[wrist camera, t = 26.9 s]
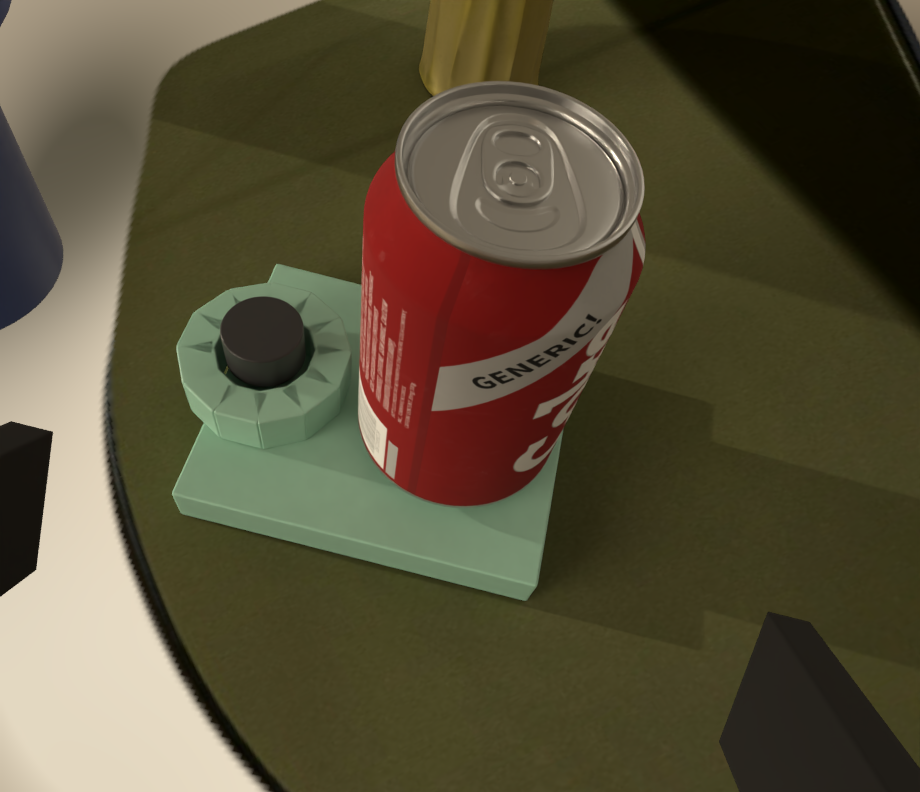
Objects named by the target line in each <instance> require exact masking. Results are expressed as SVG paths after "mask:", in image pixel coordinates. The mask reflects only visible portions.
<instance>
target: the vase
mask: <svg viewBox="0 0 920 792" xmlns="http://www.w3.org/2000/svg"><path fill="white" fill-rule="evenodd" d="M552 4H553V0H430V8H429V15H428V21H427V27H426V34H425V40H424V47H423V54H422V58H421V61H420V64H419V72H420V76H421V79H422V81H423V84H424V85H425V87H426V89H427V90H428V91H429V93H430V94H431V95H432V96H435V95H437V94H439V93H441V92H443V91H445V90H448V89H451V88H454V87H457V86H461V85H465V84H470V83H476V82H485V81H512V82H522V83H528V84H533V85H538V76H539V70H540V65H541V61H542V55H543V50H544V45H545V41H546V36H547V31H548V27H549V21H550V16H551V10H552Z"/></svg>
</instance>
